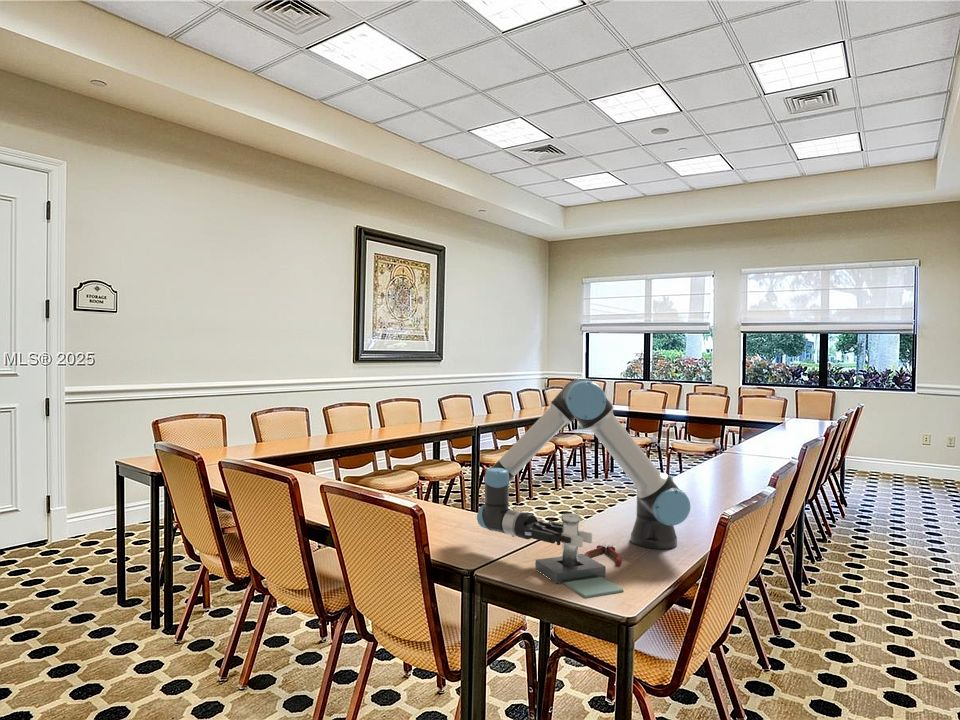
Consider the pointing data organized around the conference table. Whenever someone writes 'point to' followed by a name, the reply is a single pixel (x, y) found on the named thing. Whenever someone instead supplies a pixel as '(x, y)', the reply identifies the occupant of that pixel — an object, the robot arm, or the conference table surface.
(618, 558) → the pliers
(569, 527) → the steel pin
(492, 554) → the conference table surface
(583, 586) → the rubber mat
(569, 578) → the socket plate
